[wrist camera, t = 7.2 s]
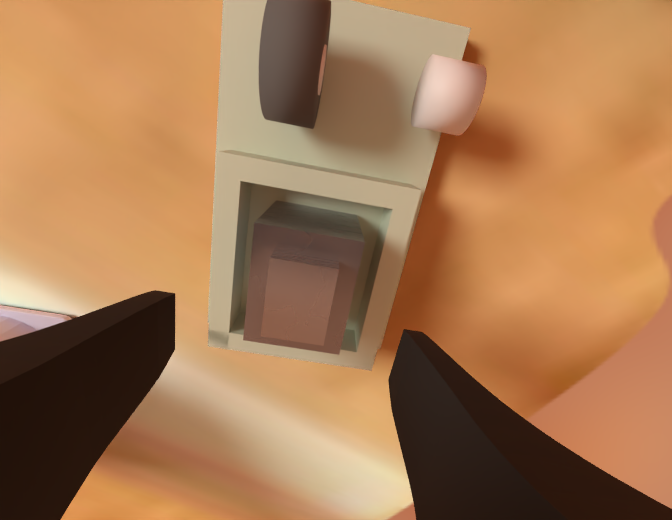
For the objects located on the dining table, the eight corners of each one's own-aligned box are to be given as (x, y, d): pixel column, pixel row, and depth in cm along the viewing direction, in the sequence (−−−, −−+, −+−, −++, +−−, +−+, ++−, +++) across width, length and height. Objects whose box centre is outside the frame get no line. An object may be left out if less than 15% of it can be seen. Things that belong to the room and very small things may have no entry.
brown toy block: (338, 302, 17) (339, 367, 12) (265, 291, 17) (237, 352, 12) (356, 214, 16) (367, 249, 11) (276, 200, 15) (248, 228, 10)
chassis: (378, 339, 19) (389, 392, 15) (214, 313, 19) (179, 362, 14) (461, 35, 14) (516, -10, 10) (232, -17, 13) (185, -90, 9)
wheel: (316, 130, 14) (310, 127, 10) (274, 122, 14) (252, 115, 10) (333, 25, 13) (332, -24, 9) (285, 14, 12) (264, -40, 9)
